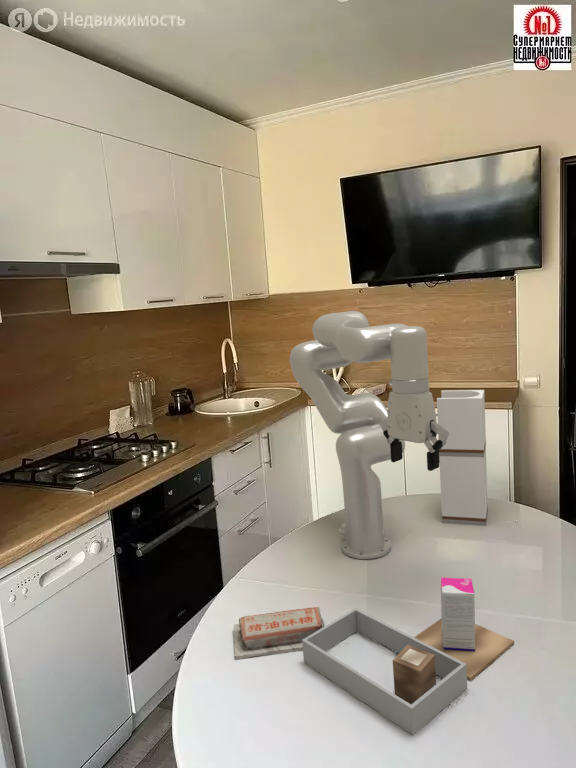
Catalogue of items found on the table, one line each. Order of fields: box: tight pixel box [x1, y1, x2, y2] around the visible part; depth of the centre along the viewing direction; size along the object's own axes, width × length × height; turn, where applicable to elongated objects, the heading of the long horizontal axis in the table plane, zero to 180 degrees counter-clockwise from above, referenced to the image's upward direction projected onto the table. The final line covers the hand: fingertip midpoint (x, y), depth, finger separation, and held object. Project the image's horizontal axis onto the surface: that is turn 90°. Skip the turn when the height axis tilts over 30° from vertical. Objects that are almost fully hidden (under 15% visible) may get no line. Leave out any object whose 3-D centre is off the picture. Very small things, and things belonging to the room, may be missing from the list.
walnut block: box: [392, 645, 437, 704], centre depth 98 cm, size 5×5×7 cm
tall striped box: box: [436, 389, 489, 527], centre depth 163 cm, size 11×11×35 cm
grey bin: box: [302, 607, 468, 735], centre depth 104 cm, size 25×14×4 cm, turn 40°
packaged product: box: [233, 606, 325, 660], centre depth 117 cm, size 18×5×10 cm
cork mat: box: [413, 618, 515, 682], centre depth 110 cm, size 14×14×1 cm
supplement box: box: [440, 577, 476, 651], centre depth 109 cm, size 6×6×12 cm
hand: (414, 464), depth 126 cm, fingers open, 9 cm apart
